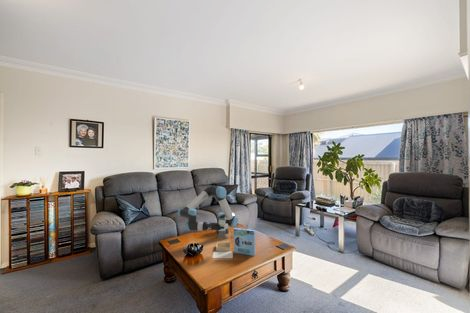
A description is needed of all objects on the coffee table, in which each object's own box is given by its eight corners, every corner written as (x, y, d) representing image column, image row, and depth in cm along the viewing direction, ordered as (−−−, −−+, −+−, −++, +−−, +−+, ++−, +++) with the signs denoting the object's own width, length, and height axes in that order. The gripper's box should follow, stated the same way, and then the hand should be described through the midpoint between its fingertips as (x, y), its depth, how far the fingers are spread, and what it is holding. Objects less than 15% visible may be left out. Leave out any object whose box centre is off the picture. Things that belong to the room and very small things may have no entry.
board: (213, 252, 194) (213, 251, 194) (232, 252, 194) (232, 251, 194) (212, 258, 182) (212, 258, 182) (232, 258, 182) (232, 257, 182)
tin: (219, 235, 194) (219, 218, 194) (225, 235, 194) (225, 218, 194) (218, 237, 189) (218, 220, 189) (225, 237, 189) (225, 220, 189)
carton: (217, 246, 207) (217, 232, 207) (230, 246, 207) (230, 231, 207) (216, 251, 195) (216, 236, 195) (230, 251, 195) (230, 236, 195)
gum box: (255, 253, 192) (255, 229, 191) (254, 256, 187) (253, 231, 187) (235, 250, 197) (235, 227, 197) (233, 253, 193) (233, 228, 192)
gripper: (204, 227, 200) (228, 227, 200) (201, 233, 182) (227, 234, 182) (204, 219, 200) (228, 219, 200) (201, 225, 182) (227, 225, 182)
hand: (227, 226), depth 191 cm, fingers closed on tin, 5 cm apart
